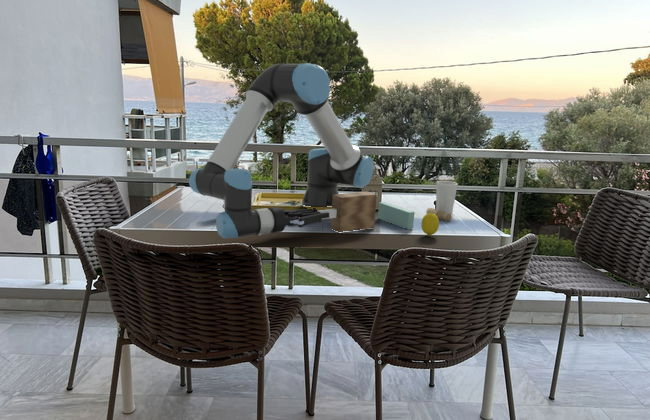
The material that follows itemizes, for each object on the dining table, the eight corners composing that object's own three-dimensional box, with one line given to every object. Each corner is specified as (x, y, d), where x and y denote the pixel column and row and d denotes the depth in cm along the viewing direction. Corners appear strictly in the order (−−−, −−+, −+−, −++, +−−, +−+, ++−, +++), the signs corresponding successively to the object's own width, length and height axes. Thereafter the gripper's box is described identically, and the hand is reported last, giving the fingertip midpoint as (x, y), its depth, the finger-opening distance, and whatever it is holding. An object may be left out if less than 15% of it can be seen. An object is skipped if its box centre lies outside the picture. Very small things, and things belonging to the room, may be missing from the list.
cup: (454, 216, 189) (458, 185, 186) (433, 214, 190) (436, 183, 187) (453, 211, 196) (457, 181, 193) (433, 210, 198) (436, 180, 195)
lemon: (418, 233, 164) (420, 210, 162) (434, 233, 164) (437, 210, 162) (423, 238, 158) (425, 214, 156) (439, 238, 159) (442, 214, 157)
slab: (339, 234, 159) (341, 197, 156) (331, 230, 163) (332, 194, 161) (374, 229, 167) (376, 194, 164) (365, 225, 171) (367, 191, 168)
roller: (452, 216, 183) (448, 211, 181) (448, 223, 182) (444, 218, 180) (433, 210, 191) (429, 205, 189) (428, 216, 190) (425, 212, 189)
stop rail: (407, 229, 168) (408, 212, 166) (378, 218, 181) (379, 202, 179) (413, 228, 169) (414, 211, 167) (383, 217, 182) (384, 201, 180)
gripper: (259, 227, 153) (324, 219, 166) (278, 238, 143) (346, 229, 155) (259, 203, 151) (325, 197, 164) (279, 213, 141) (347, 206, 153)
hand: (335, 213), depth 159 cm, fingers closed
